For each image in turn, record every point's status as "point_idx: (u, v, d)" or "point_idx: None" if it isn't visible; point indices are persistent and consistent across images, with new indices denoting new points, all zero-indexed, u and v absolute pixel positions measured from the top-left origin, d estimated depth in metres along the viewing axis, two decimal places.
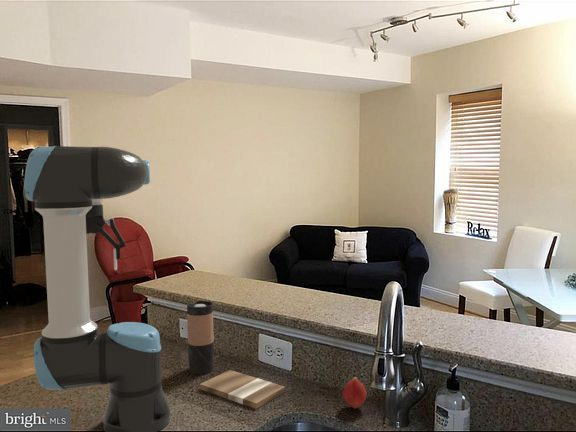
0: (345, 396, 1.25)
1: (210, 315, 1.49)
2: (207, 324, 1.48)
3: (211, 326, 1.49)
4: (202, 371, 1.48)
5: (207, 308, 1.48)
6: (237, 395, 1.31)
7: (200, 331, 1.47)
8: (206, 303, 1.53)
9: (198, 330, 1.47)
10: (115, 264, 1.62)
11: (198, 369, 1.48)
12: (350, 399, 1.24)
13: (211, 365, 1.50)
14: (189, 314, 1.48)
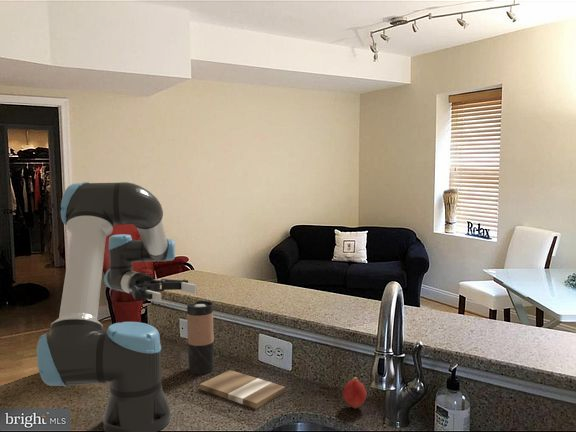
0: (345, 396, 1.25)
1: (210, 315, 1.49)
2: (207, 324, 1.48)
3: (211, 326, 1.49)
4: (202, 371, 1.48)
5: (207, 308, 1.48)
6: (237, 395, 1.31)
7: (200, 331, 1.47)
8: (206, 303, 1.53)
9: (198, 330, 1.47)
10: (191, 284, 1.62)
11: (198, 369, 1.48)
12: (350, 399, 1.24)
13: (211, 365, 1.50)
14: (189, 314, 1.48)
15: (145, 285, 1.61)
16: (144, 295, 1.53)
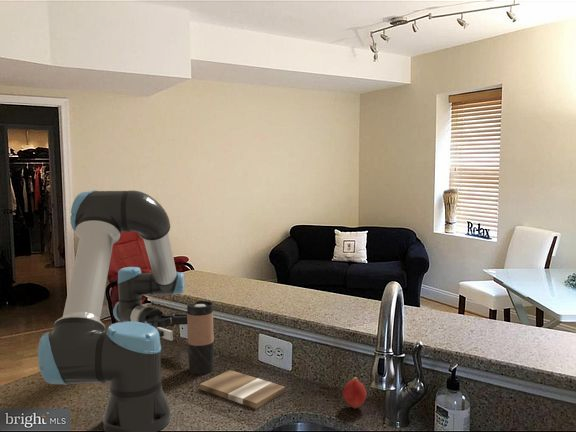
0: (345, 396, 1.25)
1: (210, 315, 1.49)
2: (207, 324, 1.48)
3: (211, 326, 1.49)
4: (202, 371, 1.48)
5: (207, 308, 1.48)
6: (237, 395, 1.31)
7: (200, 331, 1.47)
8: (206, 303, 1.53)
9: (198, 330, 1.47)
10: None
11: (198, 369, 1.48)
12: (350, 399, 1.24)
13: (211, 365, 1.50)
14: (189, 314, 1.48)
15: (156, 321, 1.59)
16: None
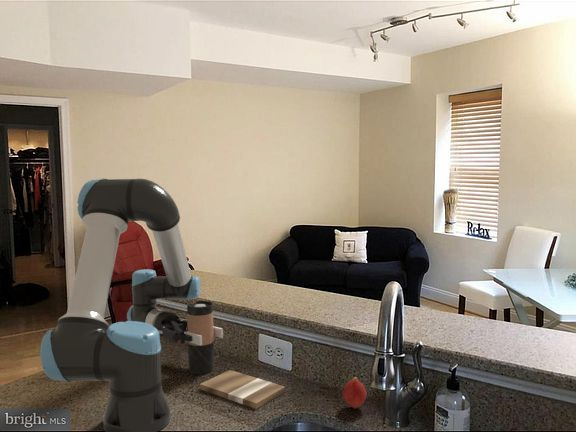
0: (345, 396, 1.25)
1: (210, 315, 1.49)
2: (207, 324, 1.48)
3: (211, 326, 1.49)
4: (202, 371, 1.48)
5: (207, 308, 1.48)
6: (237, 395, 1.31)
7: (200, 331, 1.47)
8: (206, 303, 1.53)
9: (198, 330, 1.47)
10: (218, 327, 1.52)
11: (198, 369, 1.48)
12: (350, 399, 1.24)
13: (211, 365, 1.50)
14: (189, 314, 1.48)
15: (176, 325, 1.54)
16: (184, 337, 1.47)
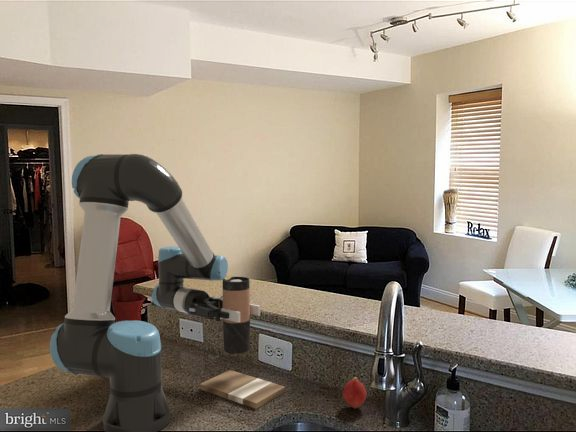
0: (345, 396, 1.25)
1: (247, 291, 1.40)
2: (244, 301, 1.39)
3: (248, 303, 1.40)
4: (239, 350, 1.39)
5: (245, 283, 1.39)
6: (237, 395, 1.31)
7: (237, 308, 1.38)
8: (241, 279, 1.44)
9: (235, 306, 1.38)
10: (254, 305, 1.43)
11: (235, 348, 1.39)
12: (350, 399, 1.24)
13: (247, 344, 1.41)
14: (225, 289, 1.39)
15: (209, 303, 1.45)
16: (220, 314, 1.38)
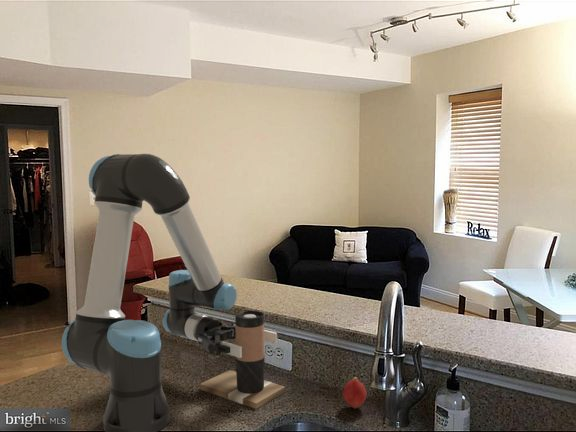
0: (345, 396, 1.25)
1: (262, 327, 1.32)
2: (258, 338, 1.31)
3: (263, 340, 1.33)
4: (252, 390, 1.32)
5: (259, 319, 1.31)
6: (237, 395, 1.31)
7: (251, 345, 1.30)
8: (255, 313, 1.36)
9: (249, 344, 1.30)
10: (271, 332, 1.38)
11: (248, 387, 1.31)
12: (350, 399, 1.24)
13: (262, 383, 1.33)
14: (238, 326, 1.31)
15: (217, 333, 1.37)
16: (220, 348, 1.29)
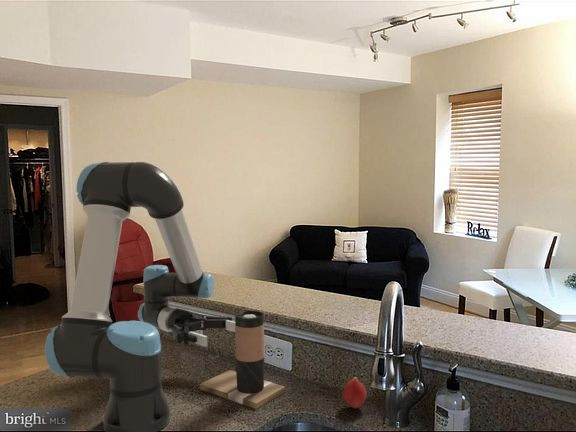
0: (345, 396, 1.25)
1: (261, 327, 1.32)
2: (258, 338, 1.31)
3: (262, 340, 1.33)
4: (252, 390, 1.32)
5: (258, 319, 1.31)
6: (237, 395, 1.31)
7: (251, 345, 1.30)
8: (255, 313, 1.36)
9: (249, 344, 1.30)
10: None
11: (248, 388, 1.31)
12: (350, 399, 1.24)
13: (262, 383, 1.33)
14: (238, 326, 1.31)
15: (187, 324, 1.45)
16: (188, 338, 1.37)
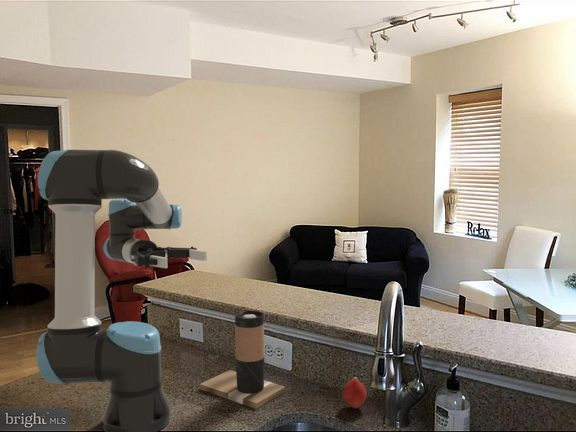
0: (345, 396, 1.25)
1: (261, 327, 1.32)
2: (258, 338, 1.31)
3: (262, 340, 1.33)
4: (252, 390, 1.32)
5: (258, 319, 1.31)
6: (237, 395, 1.31)
7: (251, 345, 1.30)
8: (255, 313, 1.36)
9: (249, 344, 1.30)
10: None
11: (248, 388, 1.31)
12: (350, 399, 1.24)
13: (262, 383, 1.33)
14: (238, 326, 1.31)
15: (149, 251, 1.44)
16: (148, 261, 1.37)
